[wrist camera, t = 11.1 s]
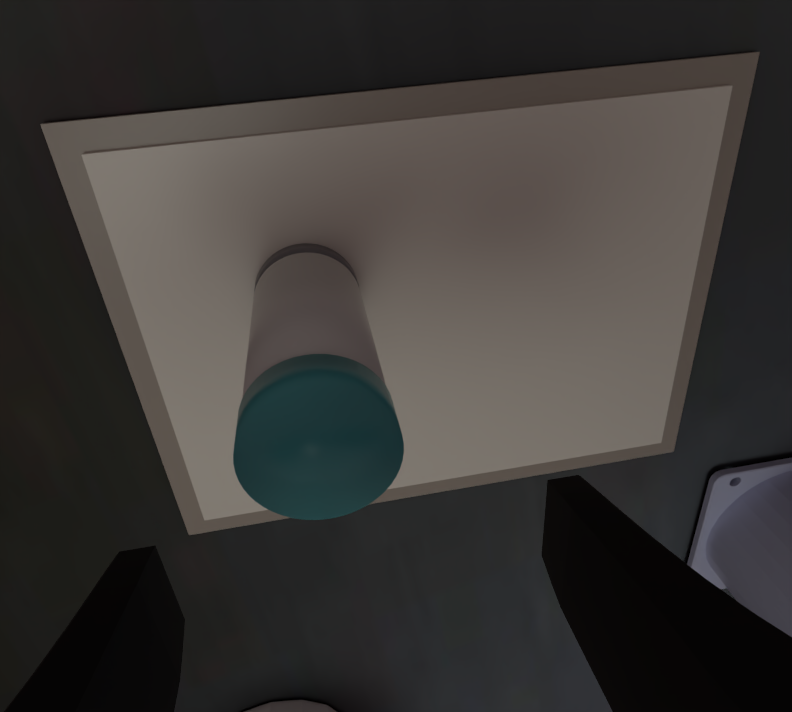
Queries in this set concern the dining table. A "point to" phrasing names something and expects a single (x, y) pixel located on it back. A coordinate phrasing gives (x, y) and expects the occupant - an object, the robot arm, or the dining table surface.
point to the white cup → (292, 707)
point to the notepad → (425, 259)
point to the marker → (313, 392)
